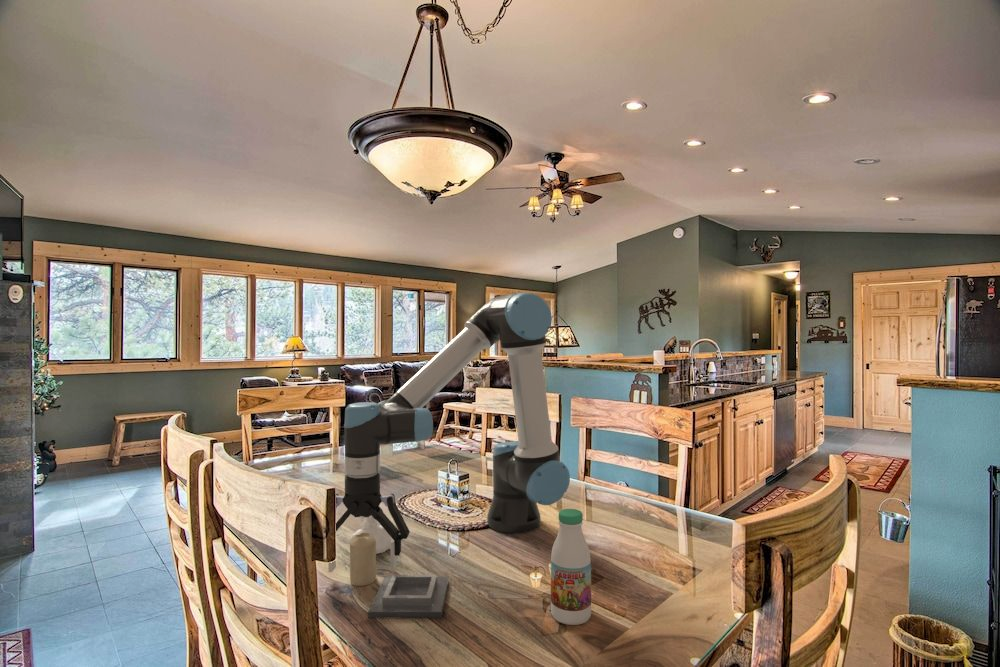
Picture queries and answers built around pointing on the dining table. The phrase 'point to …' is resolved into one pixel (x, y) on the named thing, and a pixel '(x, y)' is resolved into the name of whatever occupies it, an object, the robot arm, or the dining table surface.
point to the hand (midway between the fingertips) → (362, 569)
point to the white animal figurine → (375, 534)
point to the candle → (362, 560)
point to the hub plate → (410, 597)
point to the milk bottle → (570, 571)
